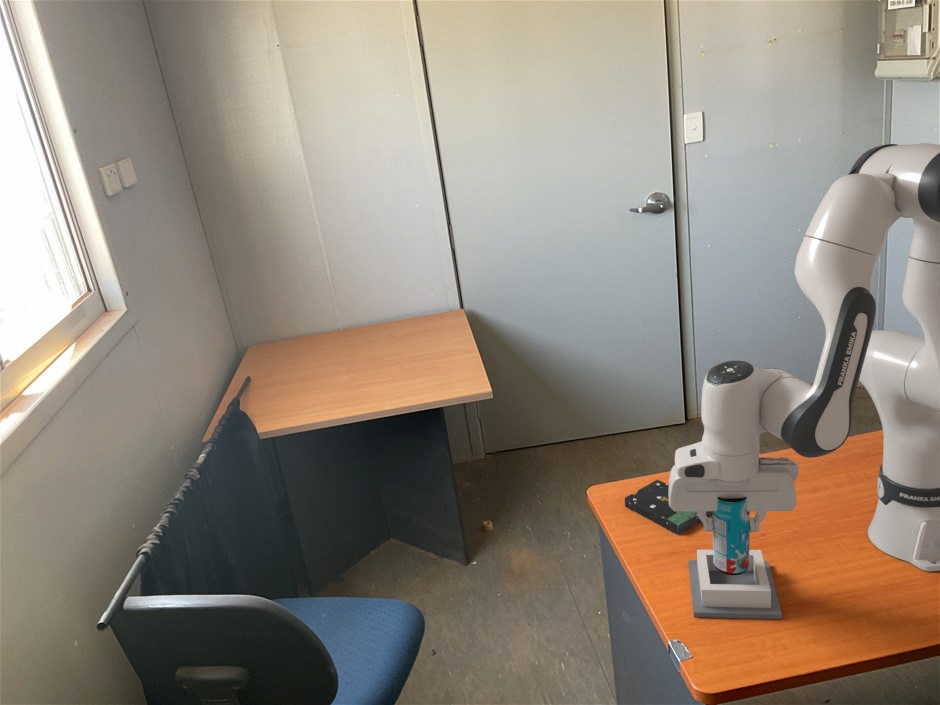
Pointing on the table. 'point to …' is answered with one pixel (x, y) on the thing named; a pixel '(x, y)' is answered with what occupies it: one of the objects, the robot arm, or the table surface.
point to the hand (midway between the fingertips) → (730, 529)
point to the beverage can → (731, 536)
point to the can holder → (733, 589)
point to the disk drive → (661, 508)
